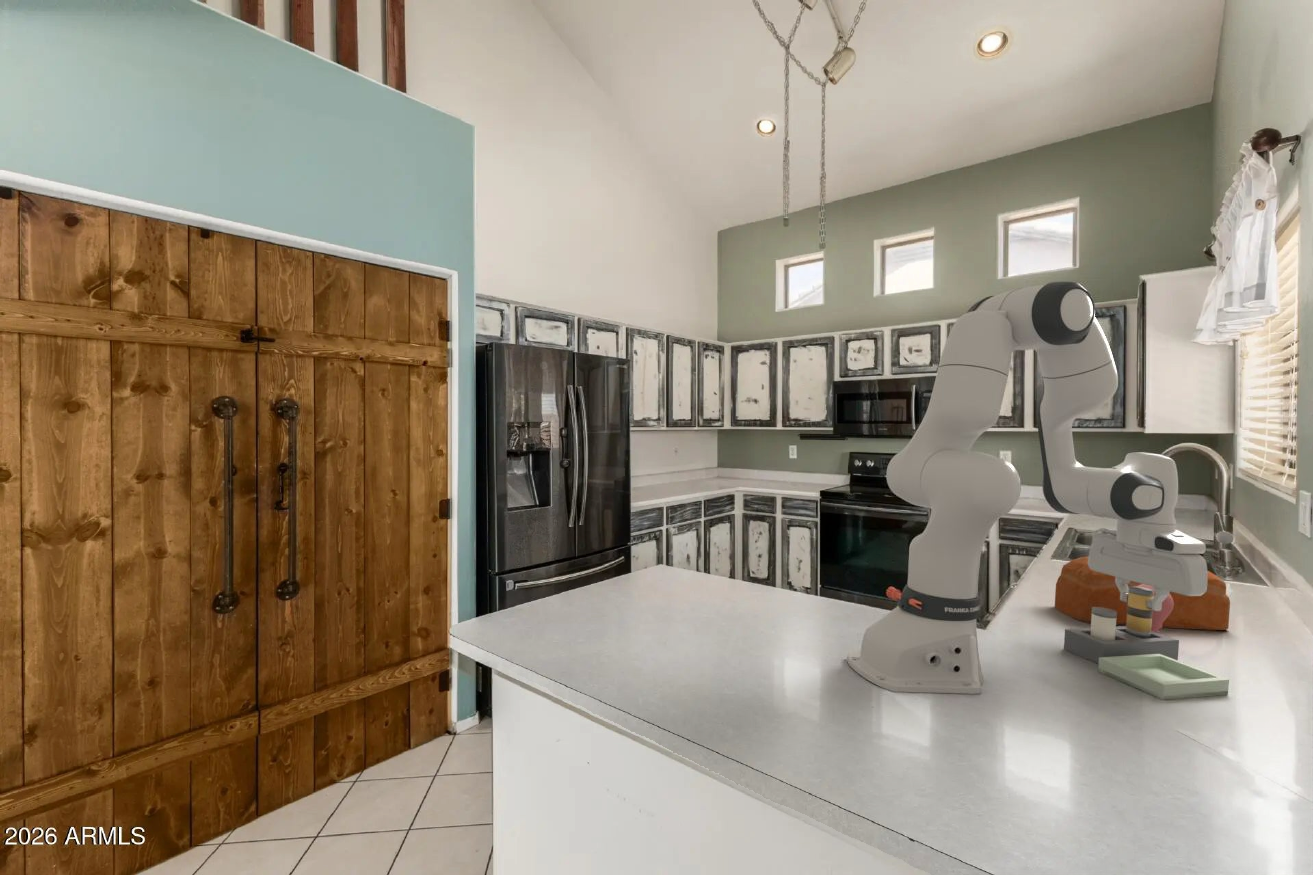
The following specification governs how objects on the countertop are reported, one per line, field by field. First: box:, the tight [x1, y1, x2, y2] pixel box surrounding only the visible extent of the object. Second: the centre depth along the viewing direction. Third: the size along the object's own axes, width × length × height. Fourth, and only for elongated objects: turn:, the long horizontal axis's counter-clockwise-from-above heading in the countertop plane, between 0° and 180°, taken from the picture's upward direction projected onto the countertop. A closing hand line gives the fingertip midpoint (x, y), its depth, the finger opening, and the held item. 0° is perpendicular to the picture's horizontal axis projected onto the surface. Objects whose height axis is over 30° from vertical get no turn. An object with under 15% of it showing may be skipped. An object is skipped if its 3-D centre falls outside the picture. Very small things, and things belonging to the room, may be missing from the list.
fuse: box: [1090, 607, 1117, 641], centre depth 113 cm, size 4×4×9 cm
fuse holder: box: [1063, 625, 1180, 665], centre depth 114 cm, size 18×8×4 cm, turn 103°
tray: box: [1097, 654, 1230, 701], centre depth 102 cm, size 14×11×2 cm
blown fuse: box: [1125, 586, 1154, 638], centre depth 115 cm, size 4×4×9 cm
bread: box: [1054, 555, 1231, 631], centre depth 138 cm, size 14×33×16 cm, turn 86°
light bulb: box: [1139, 584, 1174, 633], centre depth 123 cm, size 7×7×12 cm
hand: (1140, 605), depth 115 cm, fingers closed on blown fuse, 4 cm apart
